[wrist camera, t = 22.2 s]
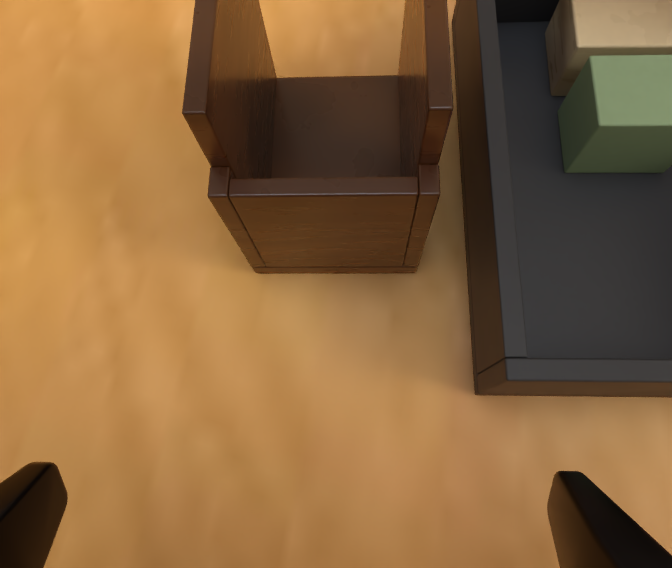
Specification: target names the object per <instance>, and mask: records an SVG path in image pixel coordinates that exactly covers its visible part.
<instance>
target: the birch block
mask: <svg viewBox="0 0 672 568" xmlns="http://www.w3.org/2000/svg"><path fill="white" fill-rule="evenodd" d="M545 39H546V50H547V60H548V70H549V80H550V90H551V96H567V94H568V92H569V91H570V89H571V87H572V86H573V84H574V82H575V80H576V79H577V77H578V75H579V74H580V72H581V70H582V68H583V67H584V65H585V63H586V62H587V60H588V58H589V57H590V56H600V55H672V0H559V2H558V5H557V7H556V9H555V11H554V14H553V16H552V18H551V20H550V23H549V25H548V27H547V29H546V32H545Z"/></svg>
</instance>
